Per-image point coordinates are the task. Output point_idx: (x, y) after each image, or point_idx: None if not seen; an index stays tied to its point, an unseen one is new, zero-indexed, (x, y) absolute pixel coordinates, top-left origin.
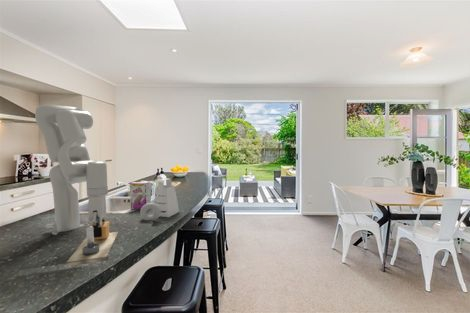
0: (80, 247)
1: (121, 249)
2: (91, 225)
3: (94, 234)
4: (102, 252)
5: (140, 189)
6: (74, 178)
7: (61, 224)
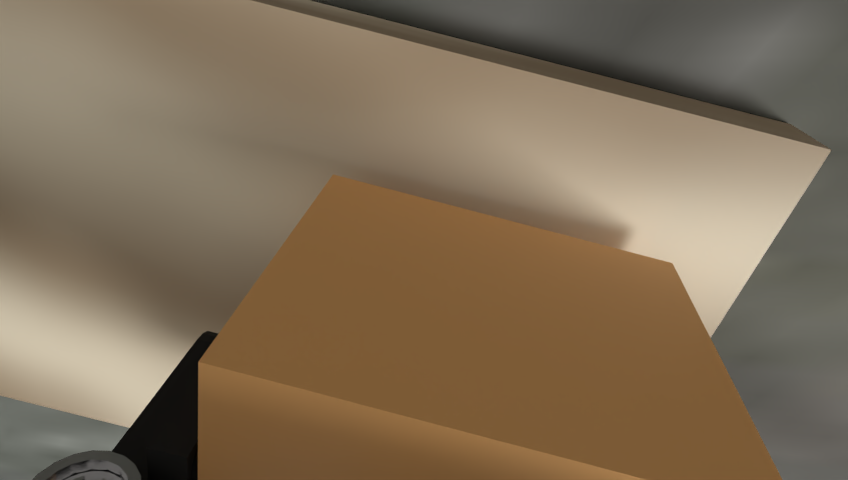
0: (86, 8)
1: (56, 436)
2: (459, 461)
3: (192, 345)
4: None
5: None
6: None
7: None
